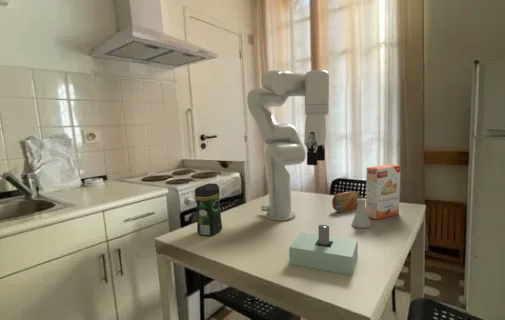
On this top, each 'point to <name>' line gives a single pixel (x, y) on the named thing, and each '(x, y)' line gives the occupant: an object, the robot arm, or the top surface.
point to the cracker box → (382, 191)
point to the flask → (361, 216)
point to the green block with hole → (324, 253)
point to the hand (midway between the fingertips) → (316, 162)
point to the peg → (323, 235)
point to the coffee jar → (208, 209)
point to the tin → (345, 201)
